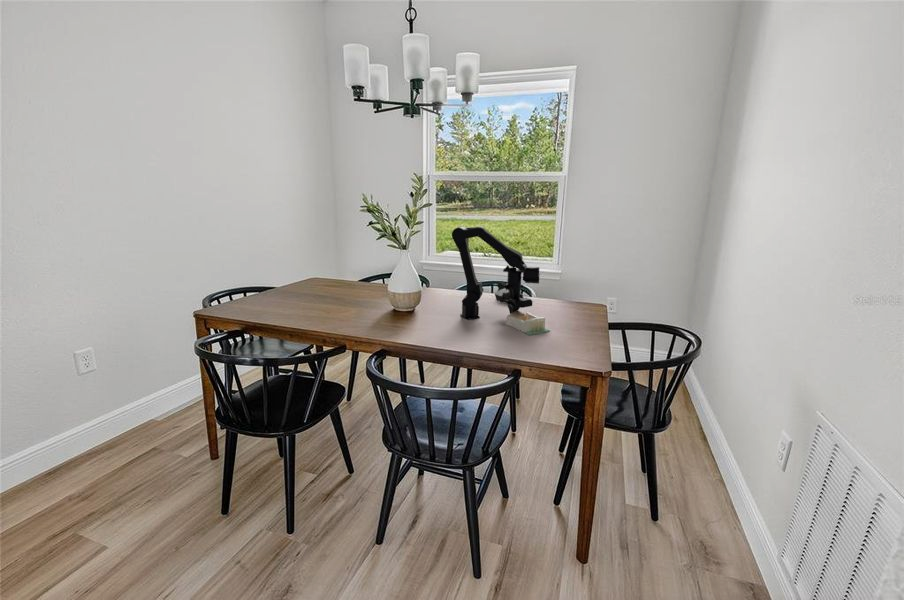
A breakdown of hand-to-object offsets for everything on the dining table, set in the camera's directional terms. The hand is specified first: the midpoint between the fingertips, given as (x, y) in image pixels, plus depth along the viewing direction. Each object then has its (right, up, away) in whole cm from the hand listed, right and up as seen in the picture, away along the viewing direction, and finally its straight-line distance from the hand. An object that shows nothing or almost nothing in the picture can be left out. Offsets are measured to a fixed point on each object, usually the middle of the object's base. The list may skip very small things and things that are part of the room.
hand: (512, 317), depth 180 cm
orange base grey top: (+2, -2, -3) cm, 4 cm away
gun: (+3, +6, +28) cm, 29 cm away
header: (+5, -4, -9) cm, 11 cm away
